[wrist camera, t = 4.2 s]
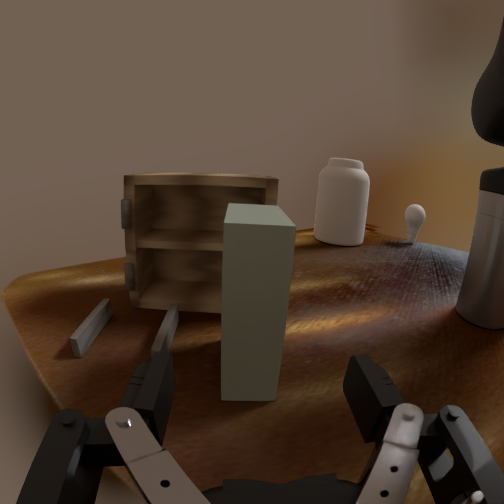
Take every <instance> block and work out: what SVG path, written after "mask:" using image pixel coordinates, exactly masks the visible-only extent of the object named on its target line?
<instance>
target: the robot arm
mask: <svg viewBox="0 0 504 504" xmlns="http://www.w3.org/2000/svg"><path fill="white" fill-rule="evenodd" d="M471 114H472V121H473V125H474V128H475V130H476V132H477V134H478V135H479V136H480V137H481V138H482V139H484V140H485V141H488V142H490V143H493V144H496V145H500V146H503V147H504V18H503V23H502V28H501V32H500V36H499V40H498V43H497V46H496V49H495V52H494V54H493V57H492V59H491V61H490V63H489V64H488V66H487V68H486V70H485V71H484V73H483V74H482V76H481V78H480V79H479V82H478V83H477V85H476V88H475V91H474V95H473V99H472V108H471ZM479 189H480V190H479V198H478V206H477V214H476V220H475V226H474V232H473V238H472V243H471V248H470V253H469V257H468V262H467V266H466V270H465V274H464V278H463V282H462V286H461V289H460V292H459V296H458V300H457V303H456V311H457V312H458V314H459V315H460V316H462V317H463V318H464V319H466V320H467V321H469V322H471V323H473V324H475V325H477V326H480V327H484V328H488V329H501V328H504V167H500V168H495V169H488V170H485V171H483V172H482V174H481V178H480V188H479ZM343 391H344V394H345V397H346V399H347V401H348V404H349V406H350V408H351V411H352V413H353V415H354V418H355V420H356V423H357V425H358V427H359V430H360V432H361V434H362V437H363V439H364V442H365V443H369V442H375V444H376V446H375V447H374V449H373V451H372V454H371V456H370V458H369V460H368V462H367V465H366V467H365V469H364V471H363V473H362V475H361V477H360V479H359V481H358V482H357V484H356V483H353V482H350V481H346V480H337V476H336V473H330V474H323V475H315V476H308V477H305V478H302V479H299V480H296V481H292V482H289V483H285V484H275V483H268V482H262V481H257V480H235V479H223V486H219V487H215V488H211V489H208V490H205V491H203V492H200V491H199V490H198V488H197V487H196V486H195V485H194V484H193V483H192V481H191V480H190V479H189V478H188V476H187V475H186V474H185V473H184V471H183V470H182V469H181V468H180V466H179V465H178V464H177V462H176V461H175V460H174V458H173V457H172V456H171V454H170V453H169V452H168V451H167V450H166V449H162V448H161V447H162V445H163V440H164V436H165V431H166V427H167V422H168V418H169V414H170V409H171V405H172V401H173V396H174V392H175V375H174V366H173V357H172V354H170V353H160V352H155V353H154V355H153V358H152V360H151V363H149V362H142V363H141V364H140V365H139V366H138V367H137V368H135V371H134V373H133V375H132V378H131V380H130V382H129V385H128V387H127V389H126V391H125V394H124V396H123V399H122V401H121V403H120V406H119V408H116V409H113V410H112V411H110V412H109V413H108V414H107V416H106V417H104V418H85V417H84V415H83V414H82V413H81V412H80V411H78V410H75V409H64V410H61V411H59V412H58V413H57V414H56V415H55V416H54V417H53V419H52V421H51V423H50V426H49V428H48V430H47V432H46V434H45V436H44V438H43V440H42V442H41V445H40V447H39V449H38V451H37V453H36V456H35V458H34V460H33V462H32V465H31V467H30V470H29V472H28V474H27V477H26V479H25V482H24V484H23V487H22V489H21V492H20V494H19V497H18V500H17V503H16V504H95V500H96V496H97V491H98V487H99V483H100V479H101V475H102V471H103V468H104V467H107V466H125V468H126V470H127V471H128V473H129V475H130V476H131V478H132V480H133V482H134V483H135V485H136V487H137V488H138V490H139V491H140V493H141V495H142V496H143V498H144V499H145V501H146V503H147V504H403V503H404V500H405V497H406V494H407V491H408V488H409V485H410V482H411V479H412V476H413V473H414V469H415V466H416V463H417V461H418V463H419V465H420V467H421V470H422V472H423V474H424V477H425V479H426V481H427V484H428V486H429V489H430V491H431V493H432V496H433V498H434V501H435V503H436V504H504V474H503V472H502V470H501V469H500V467H499V465H498V464H497V462H496V460H495V459H494V457H493V455H492V454H491V452H490V451H489V449H488V447H487V446H486V444H485V443H484V441H483V439H482V438H481V436H480V435H479V433H478V432H477V430H476V429H475V427H474V426H473V424H472V423H471V421H470V420H469V418H468V417H467V415H466V414H465V412H464V411H463V410H462V409H461V408H460V407H458V406H455V405H446V406H444V407H442V408H441V410H440V412H439V413H438V414H425V413H423V412H422V410H421V409H420V408H419V407H417V406H415V405H413V404H409V403H406V402H405V400H404V399H403V397H402V395H401V394H400V392H399V391H398V389H397V388H396V386H395V384H393V381H392V380H391V379H390V377H389V375H388V374H387V372H386V370H384V369H383V368H382V367H381V366H379V365H378V364H373V362H372V360H371V359H370V357H369V356H368V355H358V356H352V357H351V358H350V360H349V364H348V367H347V371H346V374H345V378H344V381H343ZM447 447H448V449H449V450H450V452H451V454H452V456H453V459H454V463H453V462H452V460H451V458H450V456H449V454H448V452H447V451H446V449H447Z"/></svg>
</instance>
